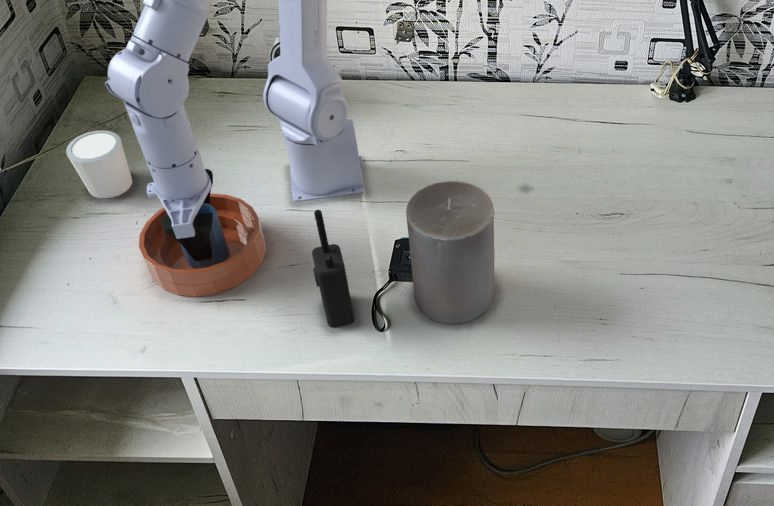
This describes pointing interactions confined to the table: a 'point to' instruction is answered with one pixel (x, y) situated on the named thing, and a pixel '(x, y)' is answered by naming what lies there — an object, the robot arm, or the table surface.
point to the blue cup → (217, 242)
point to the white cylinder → (100, 163)
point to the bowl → (187, 281)
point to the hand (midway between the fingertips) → (203, 242)
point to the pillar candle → (452, 251)
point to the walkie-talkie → (332, 279)
